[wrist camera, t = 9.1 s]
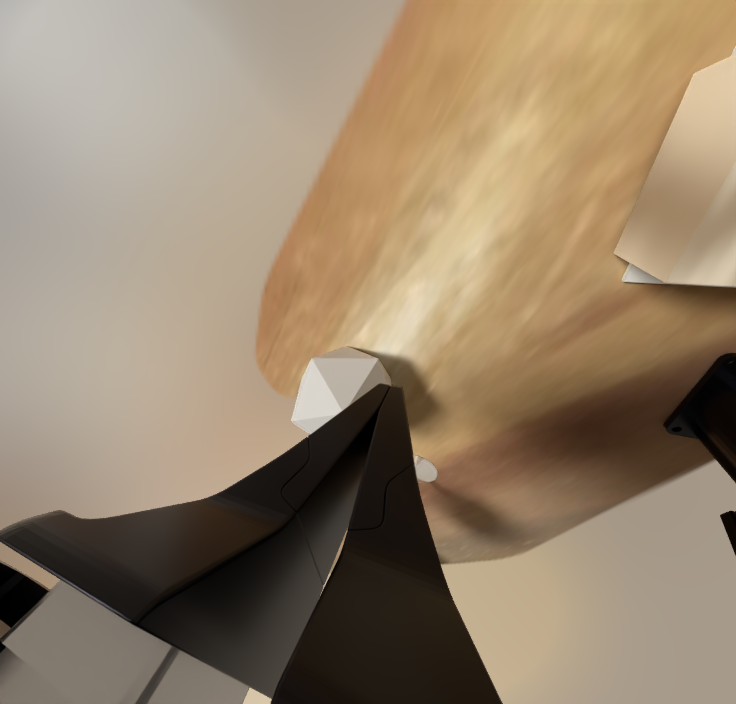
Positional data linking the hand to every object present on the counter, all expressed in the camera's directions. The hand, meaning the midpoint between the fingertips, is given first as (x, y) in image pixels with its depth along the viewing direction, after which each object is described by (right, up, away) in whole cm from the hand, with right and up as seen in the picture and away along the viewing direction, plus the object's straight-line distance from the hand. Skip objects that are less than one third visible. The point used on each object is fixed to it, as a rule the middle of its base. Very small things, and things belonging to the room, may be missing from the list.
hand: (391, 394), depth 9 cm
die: (-1, 0, +16) cm, 16 cm away
